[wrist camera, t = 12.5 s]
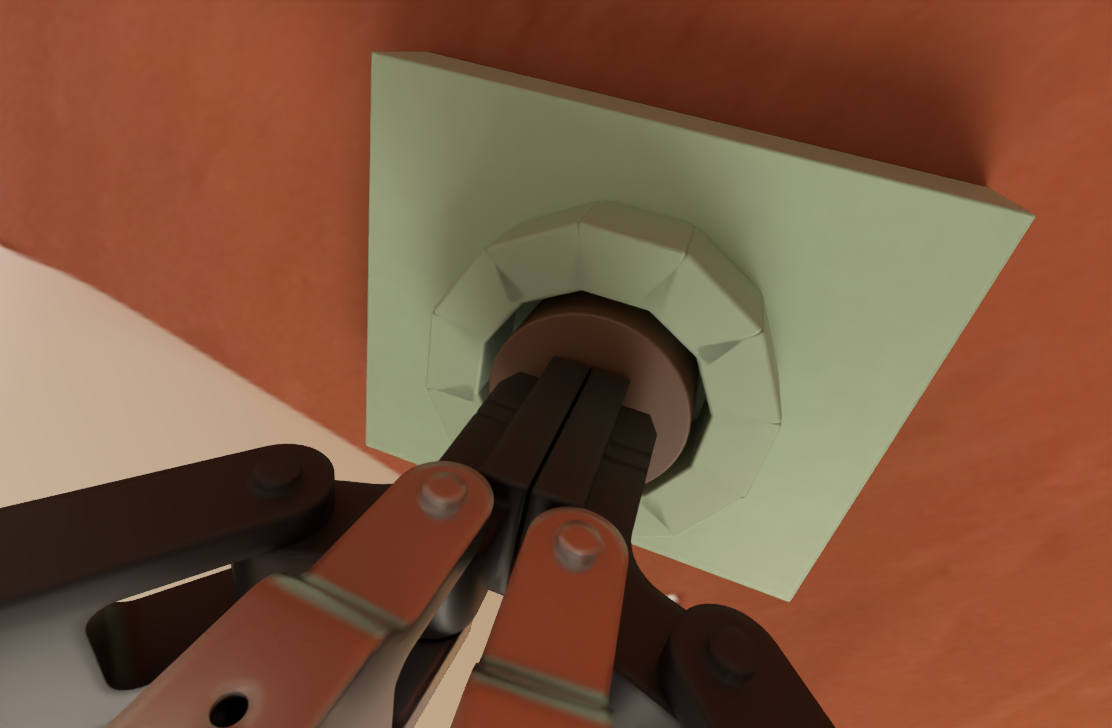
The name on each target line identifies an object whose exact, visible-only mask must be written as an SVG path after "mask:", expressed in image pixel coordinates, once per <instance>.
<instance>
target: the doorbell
mask: <svg viewBox="0 0 1112 728" xmlns="http://www.w3.org/2000/svg"><path fill="white" fill-rule="evenodd" d="M1034 218H1035V215H1034V214H1033V213H1032V212H1030V211H1028V210H1026V209H1025V208H1023V207H1021V206H1019V205H1018V204H1016V203H1014V202H1013V201H1011V200H1009V199H1007V198H1006V197H1004V196H1002V195H1001V194H999V193H997V192H995V191H994V190H992V189H990V188H988V187H984V186H980V185H976V184H972V183H968V182H964V181H959V180H955V179H951V178H947V177H943V176H939V175H935V174H930V173H926V172H922V171H918V170H914V169H910V168H906V167H902V166H897V165H893V164H889V163H885V162H881V161H877V160H873V159H868V158H864V157H860V156H856V155H852V154H848V153H844V152H840V151H835V150H831V149H827V148H823V147H819V146H815V145H811V144H806V143H802V142H798V141H794V140H790V139H786V138H782V137H778V136H773V135H769V134H765V133H761V132H757V131H753V130H749V129H744V128H740V127H736V126H732V125H728V124H724V123H720V122H715V121H711V120H707V119H703V118H699V117H695V116H691V115H687V114H682V113H678V112H674V111H670V110H666V109H662V108H658V107H653V106H649V105H645V104H641V103H637V102H633V101H629V100H625V99H620V98H616V97H612V96H608V95H604V94H600V93H596V92H591V91H587V90H583V89H579V88H575V87H571V86H567V85H563V84H558V83H554V82H550V81H546V80H542V79H538V78H534V77H529V76H525V75H521V74H517V73H513V72H509V71H505V70H500V69H496V68H492V67H488V66H484V65H480V64H476V63H472V62H467V61H463V60H459V59H455V58H451V57H447V56H443V55H438V54H434V53H430V52H381V51H374V52H372V54H371V111H370V179H369V247H368V316H367V384H366V445H367V446H369V447H372V448H375V449H377V450H380V451H383V452H385V453H388V454H391V455H394V456H396V457H399V458H402V459H404V460H407V461H410V462H412V463H415V464H418V465H420V464H424V463H427V462H434V461H439V459H440V458H441V457H442V456H443V454H444V453H445V452H446V450H447V449H448V448H449V447H450V445H451V444H452V443H453V441H454V440H455V439H456V437H457V436H458V435H459V434H460V432H461V431H462V430H463V428H464V427H465V426H466V424H467V423H468V422H469V421H470V419H471V418H472V417H473V415H474V414H476V413H477V410H478V409H479V408H480V406H481V405H482V404H483V402H484V401H485V400H487V397H488V396H489V395H490V393H489V383H490V374H491V370H492V366H493V363H494V361H495V358H496V356H497V354H498V352H499V350H500V349H501V347H502V346H503V344H504V343H505V342H506V341H507V340H508V338H509V337H510V336H511V335H512V334H513V333H514V331H515V330H516V329H517V328H518V327H519V326H520V324H521V323H522V322H523V321H524V320H525V319H526V318H527V316H528V315H529V314H530V313H531V312H532V311H533V309H534V308H535V307H536V306H537V305H538V304H539V303H540V302H541V301H542V300H543V299H545V298H550V297H554V296H559V295H563V294H568V293H572V292H577V291H581V290H582V291H586V292H589V293H592V294H596V295H599V296H602V297H606V298H609V299H612V300H615V301H619V302H622V303H625V304H629V305H632V306H635V307H639V308H642V309H645V310H649V311H650V312H651V313H652V314H653V315H654V316H655V317H656V318H657V319H658V320H659V321H660V322H661V323H662V324H663V325H664V326H665V327H666V328H667V329H668V330H669V331H670V332H671V333H672V334H673V335H674V336H675V337H676V338H677V339H678V340H679V341H680V342H681V343H682V344H683V345H684V346H685V347H686V348H687V349H688V350H689V351H690V352H692V353H693V354H694V355H695V356H696V358H697V362H698V366H699V379H698V387H697V393H696V398H695V404H694V410H693V416H692V422H691V427H690V432H689V436H688V439H687V442H686V444H685V446H684V448H683V450H682V452H681V454H680V455H679V457H678V458H677V460H676V461H675V462H674V463H673V464H672V465H671V466H670V467H669V468H668V469H667V470H666V471H665V472H663V473H662V474H661V475H659V476H658V477H657V478H655V479H653V480H651V481H649V482H648V483H645V485H644V489H643V493H642V497H641V501H640V504H639V508H638V512H637V516H636V520H635V524H634V528H633V532H632V538H631V544H634V545H636V546H639V547H642V548H644V549H647V550H650V551H653V552H655V553H658V554H661V555H663V556H666V557H669V558H671V559H674V560H677V561H680V562H682V563H685V564H688V565H690V566H693V567H696V568H698V569H701V570H704V571H707V572H709V573H712V574H715V575H717V576H720V577H723V578H725V579H728V580H731V581H734V582H736V583H739V584H742V585H744V586H747V587H750V588H752V589H755V590H758V591H761V592H763V593H766V594H769V595H771V596H774V597H777V598H779V599H782V600H785V601H787V602H790V601H791V599H792V598H793V596H794V595H795V593H796V592H797V590H798V588H799V587H800V585H801V584H802V582H803V581H804V579H805V577H806V576H807V574H808V573H809V571H810V570H811V568H812V566H813V565H814V563H815V562H816V560H817V559H818V557H819V555H820V554H821V552H822V551H823V549H824V548H825V546H826V544H827V543H828V541H829V540H830V538H831V537H832V535H833V533H834V532H835V530H836V529H837V527H838V526H839V524H840V523H841V521H842V519H843V518H844V516H845V515H846V513H847V512H848V510H849V508H850V507H851V505H852V504H853V502H854V501H855V499H856V497H857V496H858V494H859V493H860V491H861V490H862V488H863V486H864V485H865V483H866V482H867V480H868V479H869V477H870V475H871V474H872V472H873V471H874V469H875V468H876V466H877V464H878V463H879V461H880V460H881V458H882V457H883V455H884V453H885V452H886V450H887V449H888V447H889V446H890V444H891V442H892V441H893V439H894V438H895V436H896V435H897V433H898V432H899V430H900V428H901V427H902V425H903V424H904V422H905V421H906V419H907V417H908V416H909V414H910V413H911V411H912V410H913V408H914V406H915V405H916V403H917V402H918V400H919V399H920V397H921V395H922V394H923V392H924V391H925V389H926V388H927V386H928V384H929V383H930V381H931V380H932V378H933V377H934V375H935V373H936V372H937V370H938V369H939V367H940V366H941V364H942V362H943V361H944V359H945V358H946V356H947V355H948V353H949V351H950V350H951V348H952V347H953V345H954V344H955V342H956V341H957V339H958V337H959V336H960V334H961V333H962V331H963V330H964V328H965V326H966V325H967V323H968V322H969V320H970V319H971V317H972V315H973V314H974V312H975V311H976V309H977V308H978V306H979V304H980V303H981V301H982V300H983V298H984V297H985V295H986V293H987V292H988V290H989V289H990V287H991V286H992V284H993V282H994V281H995V279H996V278H997V276H998V275H999V273H1000V271H1001V270H1002V268H1003V267H1004V265H1005V264H1006V262H1007V260H1008V259H1009V257H1010V256H1011V254H1012V253H1013V251H1014V250H1015V248H1016V246H1017V245H1018V243H1019V242H1020V240H1021V239H1022V237H1023V235H1024V234H1025V232H1026V231H1027V229H1028V228H1029V226H1030V224H1031V223H1032V221H1033V220H1034Z"/></svg>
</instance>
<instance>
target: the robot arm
mask: <svg viewBox="0 0 1112 728" xmlns="http://www.w3.org/2000/svg"><path fill="white" fill-rule="evenodd" d="M630 382H631V380H629V379H626V378H623V377H620V376H617V375H614V374H611V373H608V372H605V371H602V370H599V369H595V368H594V369H593V371H592V372H591V367H589V366H586V365H583V364H579V363H576V362H573V361H570V360H567V359H564V358H561V357H558V356H554V357H553V358H552V359H551V361H550V362H549V364H548V365H547V367H546V368H545V370H544V372H543V373H542V375H541V376H540V378H538V377H535V376H532V375H529V374H526V373H523V372H518V373H516V374H514V375H512V376H510V377H508V378H506V379H504V380H502V381H500V382H499V383H498V384H497V385H496V387H495V388H494V389H493V391H492V392H491V393H490V395H489V396H488V397H487V400H485V401H484V402H483V404H482V405H481V406H480V408H479V409H478V410H477V413H476V414H474V415H473V417H472V418H471V419H470V421H469V422H468V423H467V424H466V426H465V427H464V428H463V430H462V431H461V432H460V434H459V435H458V436H457V437H456V439H455V440H454V441H453V443H452V444H451V445H450V447H449V448H448V449H447V450H446V452H445V453H444V454H443V456H442V457H441V458H440V459H439V461H434V462H427V463H424V464H420V465H418V466H415V467H413V468H411V469H409V470H408V471H406V472H405V473H404V474H403V475H401V476H400V477H399V478H398V479H397V480H396V481H395V483H394V484H370V483H359V482H349V481H338V480H335V479H334V468H333V465H332V463H331V462H330V460H329V459H328V458H327V457H326V456H325V455H324V454H322V453H321V452H319V451H318V450H316V449H313V448H311V447H307V446H304V445H297V444H276V445H270V446H265V447H261V448H257V449H252V450H248V451H244V452H240V453H235V454H231V455H226V456H222V457H218V458H214V459H209V460H205V461H201V462H196V463H192V464H188V465H183V466H179V467H175V468H171V469H167V470H162V471H158V472H154V473H149V474H145V475H141V476H136V477H132V478H128V479H123V480H119V481H115V482H110V483H106V484H102V485H98V486H93V487H89V488H85V489H81V490H76V491H72V492H68V493H63V494H59V495H55V496H50V497H46V498H42V499H38V500H33V501H29V502H24V503H20V504H16V505H12V506H7V507H3V508H0V728H414V726H415V724H416V722H417V721H418V719H419V717H420V716H421V714H422V712H423V710H424V709H425V707H426V705H427V704H428V702H429V700H430V699H431V697H432V695H433V694H434V692H435V690H436V688H437V687H438V685H439V683H440V682H441V680H442V678H443V677H444V675H445V673H446V671H447V670H448V668H449V667H450V665H451V663H452V661H453V660H454V658H455V656H456V655H457V653H458V651H459V650H460V648H461V646H462V644H463V643H464V641H465V639H466V638H467V636H468V634H469V632H470V629H471V625H472V621H473V619H474V617H475V615H476V614H477V612H478V610H479V608H480V606H481V604H482V602H483V600H484V597H485V596H486V594H487V592H488V590H491V591H493V592H496V593H498V594H501V595H503V596H504V597H503V599H502V602H501V605H500V608H499V611H498V613H497V616H496V619H495V622H494V624H493V627H492V630H491V633H490V636H489V638H488V641H487V644H486V647H485V650H484V652H483V655H482V657H481V659H480V662H479V663H476V664H475V666H474V668H473V670H472V673H471V675H470V677H469V679H468V682H467V684H466V687H465V690H464V692H463V695H462V698H461V701H460V703H459V706H458V709H457V711H456V714H455V717H454V719H453V722H452V725H451V727H450V728H835V727H834V725H833V724H832V722H831V721H830V719H829V718H828V717H827V715H826V714H825V712H824V711H823V709H822V708H821V707H820V705H819V704H818V702H817V701H816V699H815V698H814V696H813V695H812V694H811V692H810V691H809V689H808V688H807V686H806V685H805V684H804V682H803V681H802V679H801V678H800V676H799V675H798V674H797V672H796V671H795V669H794V668H793V666H792V665H791V664H790V662H789V661H788V659H787V658H786V656H785V655H784V653H783V652H782V651H781V649H780V648H779V646H778V645H777V643H776V642H775V641H774V640H773V638H772V637H771V636H770V635H769V633H768V632H767V631H766V630H765V629H764V628H763V627H762V626H760V625H759V624H758V623H757V622H755V621H754V620H753V619H751V618H750V617H748V616H747V615H745V614H744V613H742V612H739V611H737V610H735V609H733V608H730V607H727V606H723V605H718V604H701V605H696V606H694V607H691V608H689V609H688V610H685V609H684V608H682V607H681V606H680V605H678V604H677V603H675V602H674V601H673V600H671V599H670V598H668V597H667V596H666V595H664V594H663V593H662V592H660V591H659V590H658V589H657V588H655V587H654V586H653V585H652V584H651V583H650V582H649V581H648V580H647V578H646V577H645V576H644V574H643V573H642V572H641V570H640V569H639V567H638V565H637V563H636V561H635V558H634V556H633V552H632V547H631V538H632V532H633V528H634V524H635V520H636V516H637V512H638V508H639V504H640V501H641V497H642V493H643V489H644V485H645V481H646V477H647V472H648V469H649V465H650V461H651V456H652V453H653V449H654V445H655V441H656V437H657V432H656V430H655V427H654V424H653V421H652V418H651V415H650V414H647V413H644V412H641V411H638V410H635V409H632V408H629V407H626V406H624V402H625V399H626V396H627V393H628V389H629V386H630ZM228 564H231V568H230V569H227V570H224V571H221V572H219V573H216V574H212V575H209V576H206V577H203V578H200V579H197V580H194V581H191V582H188V583H185V584H182V585H179V586H176V587H173V588H170V589H167V590H164V591H161V592H158V593H155V594H152V595H149V596H146V597H143V598H140V599H136V600H133V601H128V602H116V601H119V600H122V599H125V598H128V597H131V596H134V595H137V594H140V593H143V592H146V591H149V590H152V589H155V588H158V587H161V586H164V585H167V584H171V583H174V582H177V581H180V580H183V579H186V578H189V577H192V576H195V575H198V574H201V573H204V572H207V571H210V570H213V569H216V568H219V567H222V566H225V565H228Z"/></svg>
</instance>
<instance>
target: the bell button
mask: <svg viewBox="0 0 1112 728" xmlns="http://www.w3.org/2000/svg"><path fill="white" fill-rule="evenodd" d="M554 356H558V357H561V358H564V359H567V360H570V361H573V362H576V363H579V364H583V365H586V366H589V367H591V372H592V371H593V369H594V368H595V369H599V370H602V371H605V372H608V373H611V374H614V375H617V376H620V377H623V378H626V379H629V380H631V382H630V386H629V389H628V393H627V396H626V399H625V402H624V406H626V407H629V408H632V409H635V410H638V411H641V412H644V413H647V414H650V415H651V418H652V421H653V424H654V427H655V430H656V432H657V437H656V441H655V445H654V449H653V453H652V456H651V461H650V465H649V469H648V472H647V477H646V481H645V483H648V482H649V481H651V480H653V479H655V478H657V477H658V476H659V475H661V474H662V473H663V472H665V471H666V470H667V469H668V468H669V467H670V466H671V465H672V464H673V463H674V462H675V461H676V460H677V458H678V457H679V455H680V454H681V452H682V450H683V448H684V446H685V444H686V442H687V439H688V436H689V432H690V427H691V422H692V416H693V410H694V404H695V398H696V393H697V387H698V379H699V366H698V362H697V358H696V356H695V355H694V354H693V353H692V352H690V351H689V350H688V349H687V348H686V347H685V346H684V345H683V344H682V343H681V342H680V341H679V340H678V339H677V338H676V337H675V336H674V335H673V334H672V333H671V332H670V331H669V330H668V329H667V328H666V327H665V326H664V325H663V324H662V323H661V322H660V321H659V320H658V319H657V318H656V317H655V316H654V315H653V314H652V313H651V312H650V311H649V310H645V309H642V308H639V307H635V306H632V305H629V304H625V303H622V302H619V301H615V300H612V299H609V298H606V297H602V296H599V295H596V294H592V293H589V292H586V291H582V290H581V291H577V292H572V293H568V294H563V295H559V296H554V297H550V298H545V299H543V300H542V301H541V302H540V303H539V304H538V305H537V306H536V307H535V308H534V309H533V311H532V312H531V313H530V314H529V315H528V316H527V318H526V319H525V320H524V321H523V322H522V323H521V324H520V326H519V327H518V328H517V329H516V330H515V331H514V333H513V334H512V335H511V336H510V337H509V338H508V340H507V341H506V342H505V343H504V344H503V346H502V347H501V349H500V350H499V352H498V354H497V356H496V358H495V361H494V363H493V366H492V370H491V374H490V383H489V393H491V392H492V391H493V389H494V388H495V387H496V385H497V384H498V383H499V382H500V381H502V380H504V379H506V378H508V377H510V376H512V375H514V374H516V373H518V372H523V373H526V374H529V375H532V376H535V377H538V378H540V376H541V375H542V373H543V372H544V370H545V368H546V367H547V365H548V364H549V362H550V361H551V359H552V358H553V357H554Z"/></svg>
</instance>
